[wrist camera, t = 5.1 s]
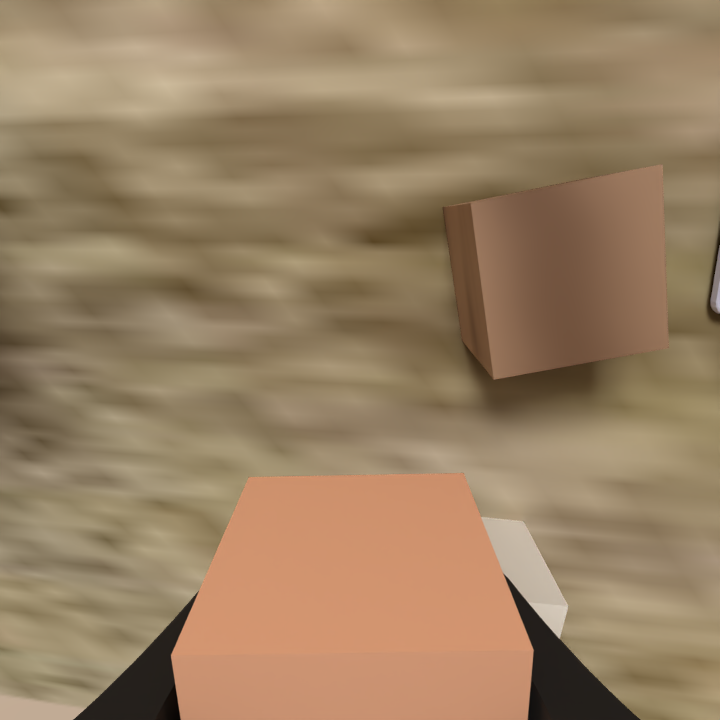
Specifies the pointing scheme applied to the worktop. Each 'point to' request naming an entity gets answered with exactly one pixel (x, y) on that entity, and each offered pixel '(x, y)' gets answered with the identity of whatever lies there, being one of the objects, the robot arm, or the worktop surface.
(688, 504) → the worktop surface
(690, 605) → the worktop surface
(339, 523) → the terracotta cube
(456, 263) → the walnut cube
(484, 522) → the beige cube
